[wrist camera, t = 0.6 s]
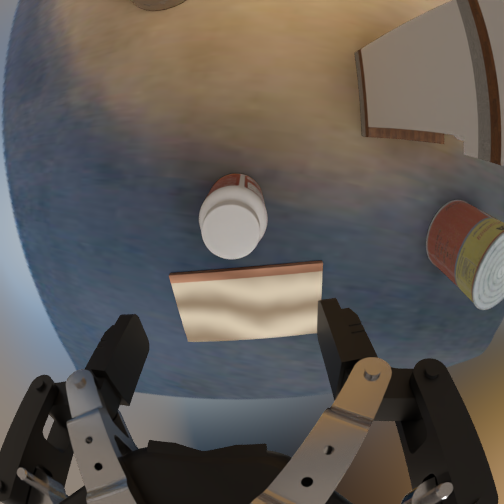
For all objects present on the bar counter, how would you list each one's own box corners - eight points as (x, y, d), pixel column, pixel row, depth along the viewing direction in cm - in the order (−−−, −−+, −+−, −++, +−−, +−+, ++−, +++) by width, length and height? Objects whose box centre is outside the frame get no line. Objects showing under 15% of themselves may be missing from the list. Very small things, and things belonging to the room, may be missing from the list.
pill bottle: (205, 217, 32) (186, 259, 22) (215, 167, 30) (197, 187, 20) (256, 228, 33) (259, 274, 23) (269, 179, 31) (278, 205, 21)
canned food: (483, 224, 33) (531, 255, 22) (449, 277, 37) (489, 319, 26) (452, 184, 30) (510, 211, 19) (413, 247, 34) (460, 292, 23)
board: (170, 272, 36) (168, 275, 35) (321, 260, 35) (322, 262, 34) (189, 339, 41) (188, 342, 40) (318, 330, 40) (319, 332, 39)
